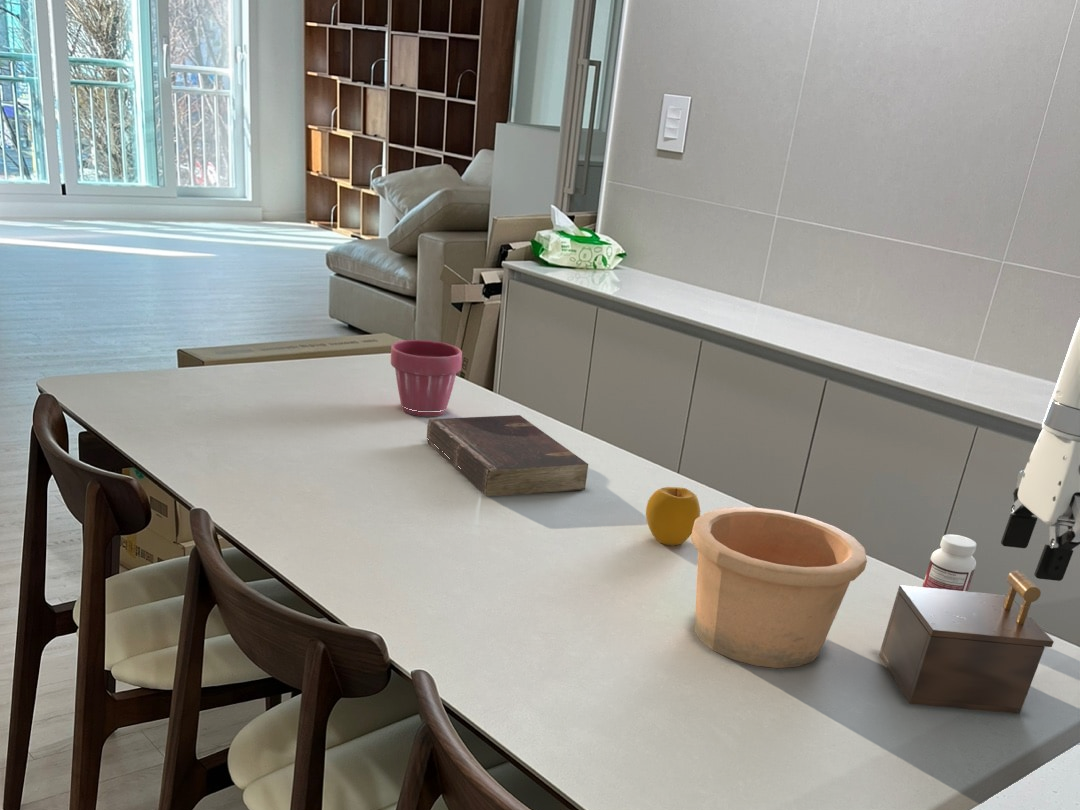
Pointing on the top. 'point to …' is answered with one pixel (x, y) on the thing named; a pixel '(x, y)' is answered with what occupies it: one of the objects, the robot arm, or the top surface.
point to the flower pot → (425, 374)
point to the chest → (956, 666)
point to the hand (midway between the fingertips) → (1029, 562)
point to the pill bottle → (952, 564)
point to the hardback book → (506, 455)
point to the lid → (979, 613)
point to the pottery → (770, 583)
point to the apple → (672, 514)
